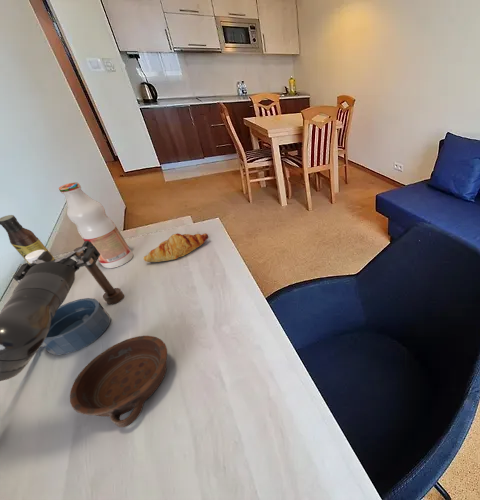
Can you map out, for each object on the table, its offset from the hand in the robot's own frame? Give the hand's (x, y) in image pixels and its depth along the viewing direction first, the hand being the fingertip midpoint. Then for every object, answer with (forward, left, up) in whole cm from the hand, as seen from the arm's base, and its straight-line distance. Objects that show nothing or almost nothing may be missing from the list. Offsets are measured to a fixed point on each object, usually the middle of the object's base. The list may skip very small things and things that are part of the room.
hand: (69, 249), depth 74 cm
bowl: (-6, -7, -20) cm, 22 cm away
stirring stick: (0, +3, -20) cm, 20 cm away
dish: (+9, -30, -20) cm, 38 cm away
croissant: (+17, +21, -20) cm, 34 cm away
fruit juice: (-3, +27, -20) cm, 34 cm away
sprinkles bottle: (-17, +19, -20) cm, 32 cm away
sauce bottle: (-27, +37, -20) cm, 50 cm away
